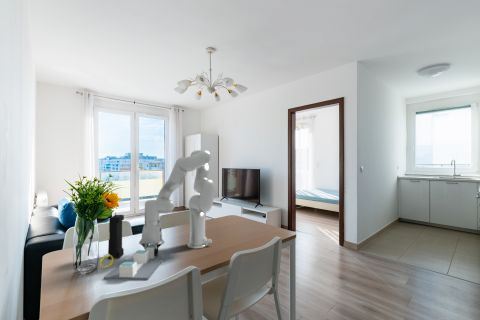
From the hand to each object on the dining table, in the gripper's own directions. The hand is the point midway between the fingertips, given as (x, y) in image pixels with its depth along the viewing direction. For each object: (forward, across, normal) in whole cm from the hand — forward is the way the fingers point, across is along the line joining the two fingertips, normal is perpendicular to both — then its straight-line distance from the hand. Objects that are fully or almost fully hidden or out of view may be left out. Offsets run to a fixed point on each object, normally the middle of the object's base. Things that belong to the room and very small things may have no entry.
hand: (151, 255), depth 127 cm
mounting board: (+1, +2, +16) cm, 16 cm away
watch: (+1, +18, +12) cm, 22 cm away
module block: (+1, 0, 0) cm, 1 cm away
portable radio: (+1, +20, 0) cm, 20 cm away
